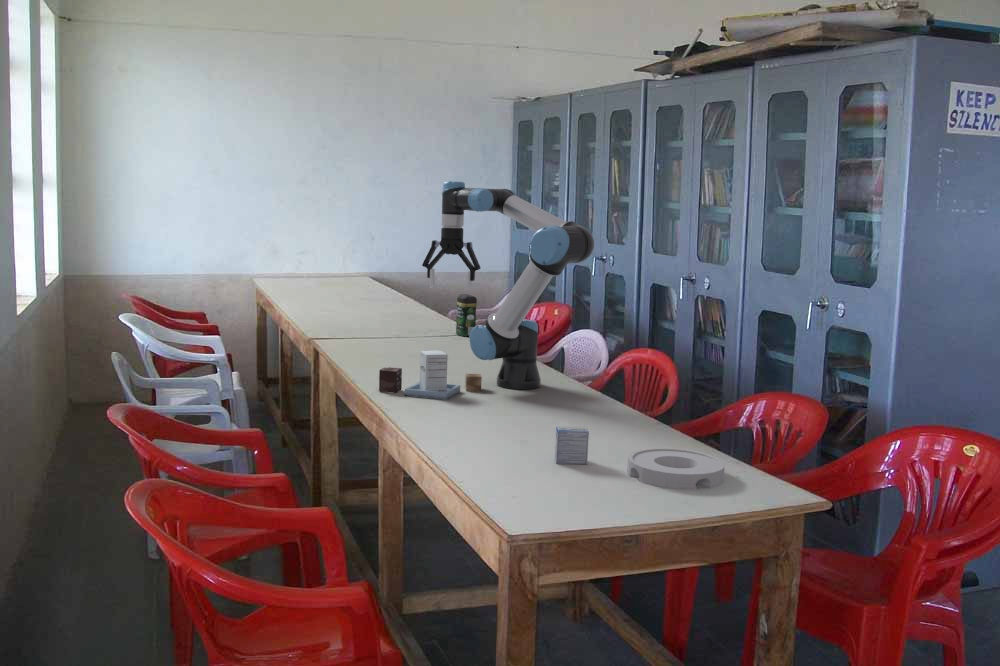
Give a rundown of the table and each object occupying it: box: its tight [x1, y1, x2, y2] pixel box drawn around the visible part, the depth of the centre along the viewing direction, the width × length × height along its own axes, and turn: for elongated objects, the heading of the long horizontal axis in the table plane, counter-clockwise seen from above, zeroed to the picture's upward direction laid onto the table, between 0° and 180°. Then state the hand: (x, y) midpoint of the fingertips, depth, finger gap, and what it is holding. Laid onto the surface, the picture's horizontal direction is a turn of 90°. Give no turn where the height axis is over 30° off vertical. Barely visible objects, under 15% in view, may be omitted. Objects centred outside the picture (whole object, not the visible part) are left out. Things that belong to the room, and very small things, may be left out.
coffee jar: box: [455, 293, 478, 337], centre depth 445 cm, size 10×8×19 cm
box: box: [378, 366, 403, 394], centre depth 322 cm, size 6×6×7 cm
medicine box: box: [554, 425, 590, 465], centre depth 247 cm, size 8×4×9 cm, turn 92°
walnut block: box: [464, 373, 483, 392], centre depth 329 cm, size 5×5×5 cm
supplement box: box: [419, 350, 449, 392], centre depth 320 cm, size 7×7×13 cm
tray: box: [404, 381, 461, 401], centre depth 321 cm, size 14×14×2 cm
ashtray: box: [626, 447, 725, 491], centre depth 240 cm, size 23×23×4 cm
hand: (450, 289), depth 340 cm, fingers open, 13 cm apart
